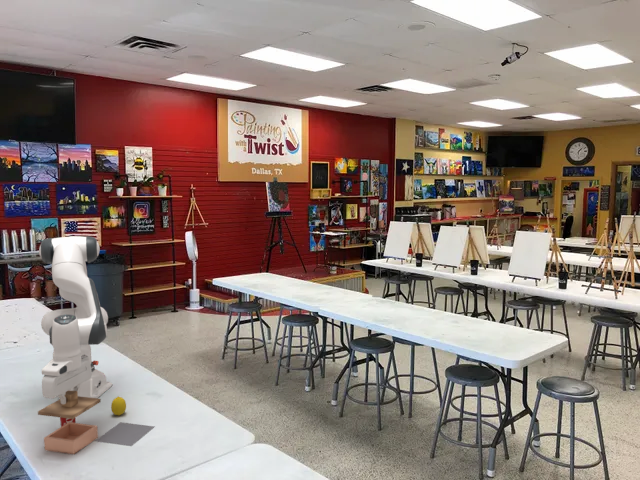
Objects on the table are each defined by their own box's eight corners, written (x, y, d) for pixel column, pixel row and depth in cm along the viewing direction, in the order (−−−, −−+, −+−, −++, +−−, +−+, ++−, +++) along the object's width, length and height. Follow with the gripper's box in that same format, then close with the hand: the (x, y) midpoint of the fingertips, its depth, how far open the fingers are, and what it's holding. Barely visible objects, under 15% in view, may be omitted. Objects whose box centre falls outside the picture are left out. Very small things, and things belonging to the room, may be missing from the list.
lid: (67, 398, 187) (66, 383, 186) (100, 402, 184) (99, 387, 183) (38, 414, 174) (37, 398, 173) (73, 419, 170) (72, 402, 170)
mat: (120, 423, 196) (120, 422, 196) (155, 427, 193) (155, 426, 193) (94, 442, 182) (94, 441, 182) (131, 447, 178) (131, 446, 178)
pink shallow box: (69, 435, 187) (69, 422, 187) (97, 438, 184) (97, 425, 184) (44, 451, 176) (44, 437, 175) (74, 455, 173) (73, 441, 172)
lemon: (111, 414, 204) (110, 395, 203) (126, 411, 206) (125, 393, 206) (111, 420, 199) (110, 400, 198) (126, 417, 201) (126, 398, 200)
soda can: (78, 426, 194) (77, 396, 192) (72, 433, 188) (70, 402, 187) (64, 427, 193) (63, 396, 192) (58, 433, 188) (56, 402, 187)
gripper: (80, 352, 188) (82, 388, 189) (37, 371, 168) (39, 411, 169) (95, 353, 186) (97, 389, 188) (53, 373, 166) (55, 413, 168)
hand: (69, 400), depth 178 cm, fingers closed on lid, 4 cm apart
